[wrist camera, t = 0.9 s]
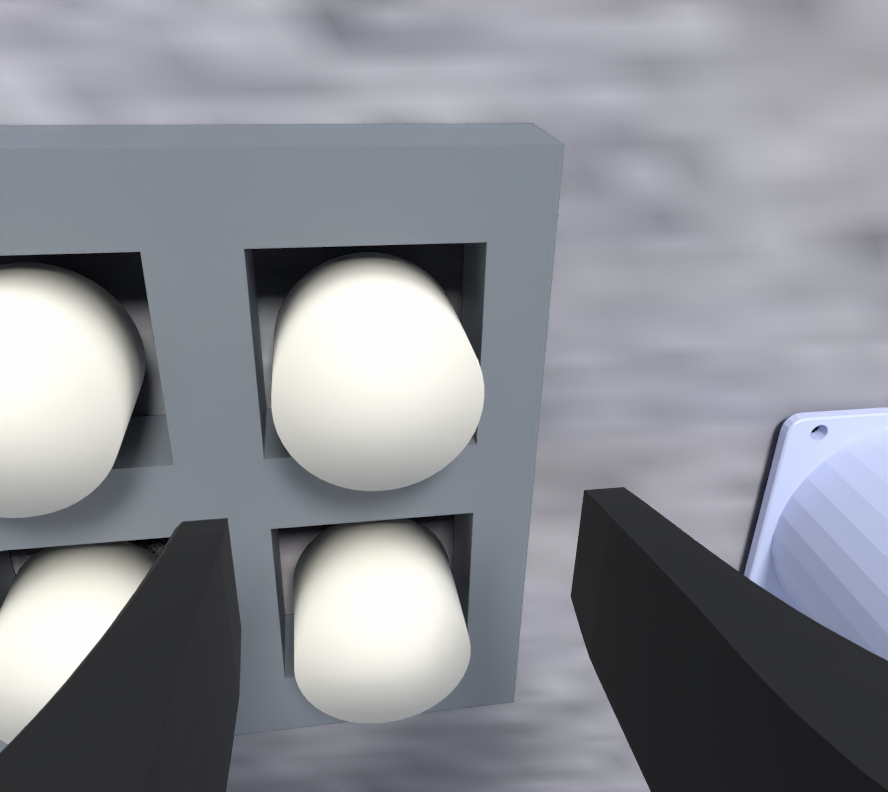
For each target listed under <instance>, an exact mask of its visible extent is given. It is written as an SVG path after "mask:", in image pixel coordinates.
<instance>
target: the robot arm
mask: <svg viewBox="0 0 888 792" xmlns="http://www.w3.org/2000/svg"><path fill="white" fill-rule="evenodd" d="M819 425H820V426H819ZM816 426H819V428H818V430H816V431H815V432H814V433H811V432H812V430H813V429H814V428H815V427H816ZM571 599H572V602H573V606H574V609H575V613H576V616H577V619H578V623H579V626H580V629H581V633H582V636H583V639H584V642H585V645H586V648H587V651H588V654H589V657H590V660H591V662H592V664H593V666H594V669H595V671H596V673H597V675H598V678H599V680H600V682H601V684H602V686H603V689H604V691H605V693H606V695H607V698H608V700H609V702H610V704H611V706H612V708H613V711H614V713H615V715H616V717H617V719H618V721H619V724H620V726H621V728H622V730H623V732H624V734H625V737H626V739H627V741H628V743H629V745H630V747H631V750H632V752H633V754H634V756H635V758H636V760H637V763H638V765H639V767H640V769H641V771H642V773H643V776H644V778H645V780H646V782H647V784H648V786H649V789H650V791H651V792H888V407H883V408H868V409H853V410H837V411H822V412H806V413H798V414H794V415H792V416H791V417H789V418H788V419H787V420H786V421H785V422H784V423H783V425H782V428H781V430H780V434H779V438H778V442H777V446H776V450H775V454H774V458H773V462H772V466H771V470H770V474H769V478H768V482H767V486H766V490H765V493H764V497H763V501H762V505H761V509H760V513H759V517H758V521H757V525H756V529H755V533H754V537H753V541H752V545H751V549H750V553H749V556H748V560H747V564H746V568H745V572H744V575H743V574H741V573H740V572H738V571H737V570H736V569H734V568H733V567H731V566H730V565H728V564H727V563H726V562H724V561H723V560H721V559H720V558H719V557H717V556H716V555H715V554H713V553H712V552H710V551H709V550H708V549H706V548H705V547H704V546H702V545H701V544H700V543H698V542H697V541H695V540H694V539H693V538H691V537H690V536H689V535H687V534H686V533H685V532H683V531H682V530H681V529H680V528H678V527H677V526H676V525H674V524H673V523H672V522H670V521H669V520H668V519H666V518H665V517H664V516H662V515H661V514H660V513H658V512H657V511H656V510H654V509H653V508H652V507H650V506H649V505H648V504H646V503H645V502H644V501H642V500H641V499H640V498H638V497H637V496H635V495H634V494H633V493H631V492H630V491H628V490H627V489H625V488H624V487H620V488H607V489H595V490H584V496H583V504H582V512H581V520H580V528H579V536H578V543H577V551H576V559H575V567H574V575H573V583H572V591H571ZM240 667H241V621H240V613H239V605H238V597H237V589H236V581H235V573H234V565H233V557H232V549H231V541H230V533H229V525H228V518H221V519H208V520H195V521H182V522H181V523H180V524H179V525H178V526H177V527H176V528H175V529H174V531H173V533H172V535H171V536H170V538H169V540H168V541H167V543H166V545H165V546H164V548H163V550H162V551H161V553H160V554H159V556H158V558H157V559H156V561H155V562H154V564H153V565H152V567H151V569H150V570H149V572H148V573H147V575H146V576H145V577H144V579H143V580H142V582H141V583H140V585H139V586H138V588H137V589H136V591H135V592H134V594H133V595H132V596H131V598H130V599H129V601H128V602H127V603H126V605H125V606H124V608H123V609H122V610H121V612H120V613H119V615H118V616H117V617H116V619H115V620H114V621H113V623H112V624H111V626H110V627H109V628H108V630H107V631H106V632H105V634H104V635H103V636H102V638H101V639H100V640H99V641H98V642H97V644H96V645H95V646H94V647H93V649H92V650H91V651H90V652H89V654H88V655H87V656H86V657H85V659H84V660H83V661H82V662H81V663H80V665H79V666H78V667H77V668H76V670H75V671H74V672H73V673H72V675H71V676H70V677H69V678H68V680H67V681H66V682H65V683H64V684H63V685H62V687H61V688H60V689H59V690H58V691H57V692H56V693H55V695H54V696H53V697H52V698H51V699H50V700H49V701H48V703H47V704H46V705H45V706H44V707H43V708H42V709H41V710H40V711H39V712H38V714H37V715H36V716H35V717H34V718H33V719H32V720H31V721H30V722H29V723H28V724H27V725H26V726H25V727H24V728H23V729H22V730H21V732H20V733H19V734H18V735H17V736H16V737H15V738H14V739H13V740H12V741H11V742H10V743H9V744H8V745H7V746H6V747H5V748H4V749H3V750H2V751H1V752H0V792H226V786H227V780H228V773H229V766H230V759H231V752H232V745H233V738H234V731H235V725H236V718H237V710H238V703H239V695H240Z"/></svg>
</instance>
